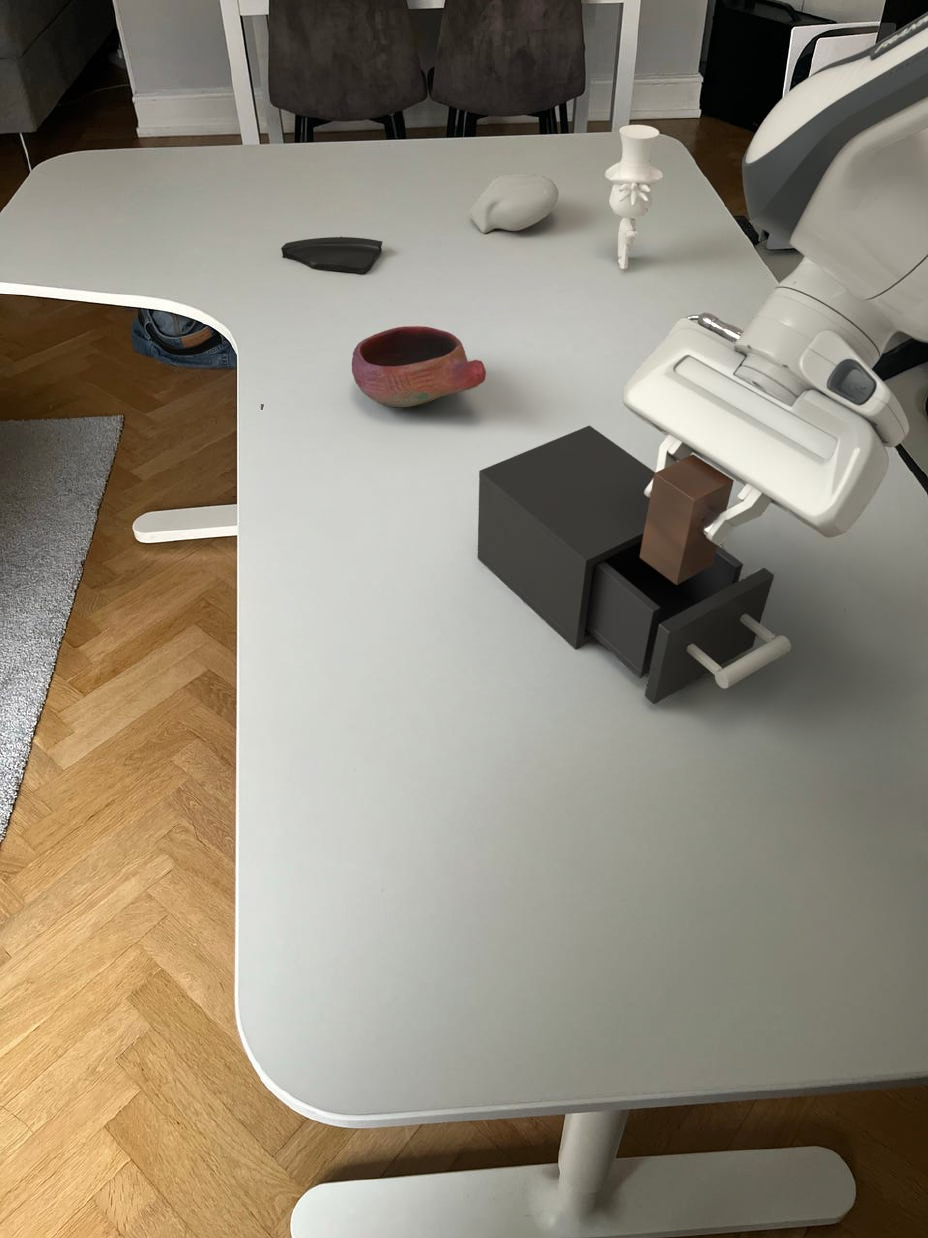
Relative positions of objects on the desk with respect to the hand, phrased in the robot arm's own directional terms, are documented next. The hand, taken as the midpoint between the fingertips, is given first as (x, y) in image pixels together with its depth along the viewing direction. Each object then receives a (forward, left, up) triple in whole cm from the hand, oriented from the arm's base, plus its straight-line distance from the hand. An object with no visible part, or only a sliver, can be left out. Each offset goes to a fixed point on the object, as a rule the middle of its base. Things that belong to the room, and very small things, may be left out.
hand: (680, 519), depth 73 cm
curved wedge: (+67, -56, -17) cm, 89 cm away
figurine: (+30, -73, -17) cm, 81 cm away
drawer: (0, -3, -16) cm, 16 cm away
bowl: (+38, -29, -17) cm, 51 cm away
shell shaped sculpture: (+50, -79, -17) cm, 95 cm away
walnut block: (0, -1, -4) cm, 4 cm away
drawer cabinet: (+10, -9, -17) cm, 22 cm away
